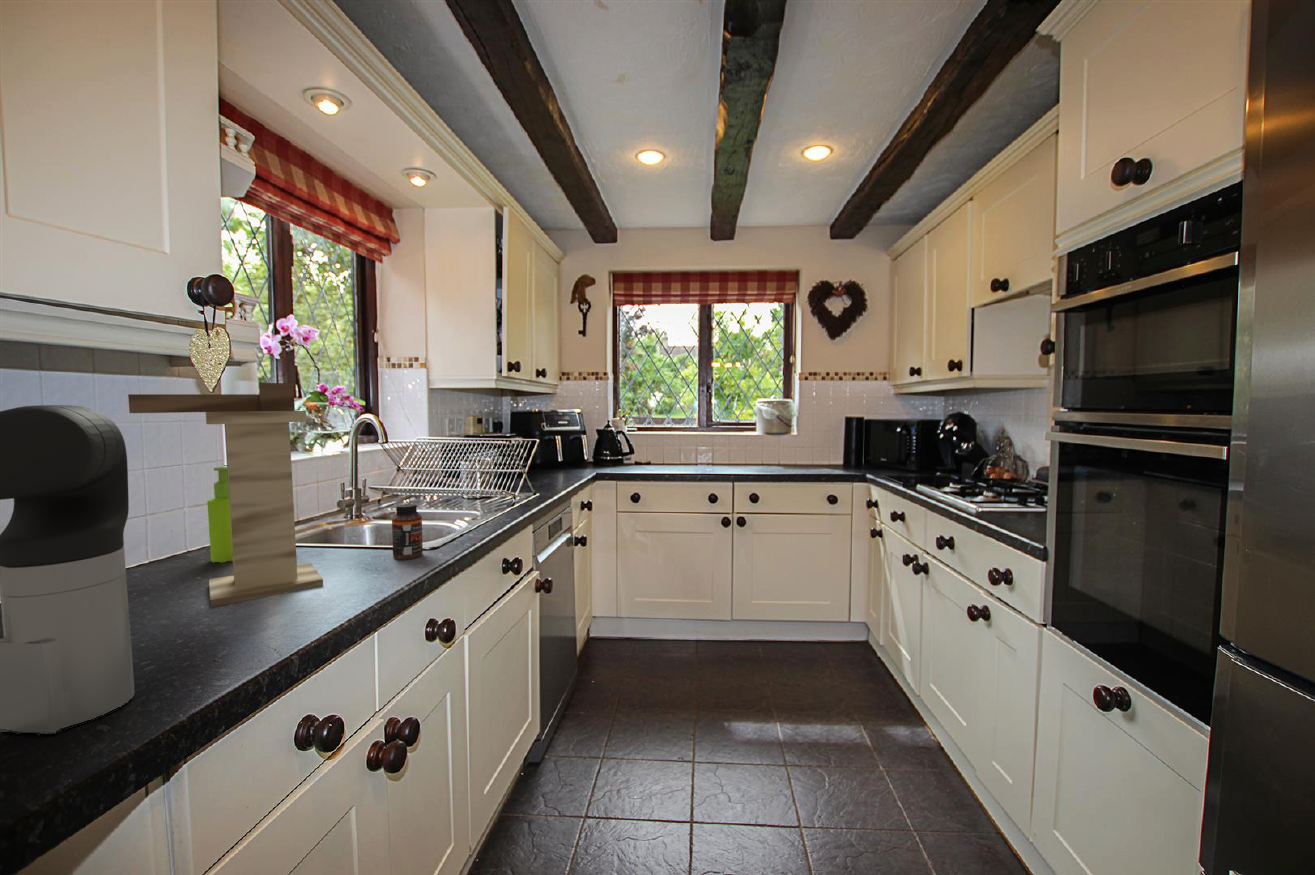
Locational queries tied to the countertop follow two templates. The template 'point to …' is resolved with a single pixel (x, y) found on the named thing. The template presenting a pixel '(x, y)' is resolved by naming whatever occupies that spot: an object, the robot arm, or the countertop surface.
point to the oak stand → (260, 508)
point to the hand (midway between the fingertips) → (70, 441)
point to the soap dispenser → (220, 520)
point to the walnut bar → (217, 401)
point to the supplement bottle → (407, 532)
